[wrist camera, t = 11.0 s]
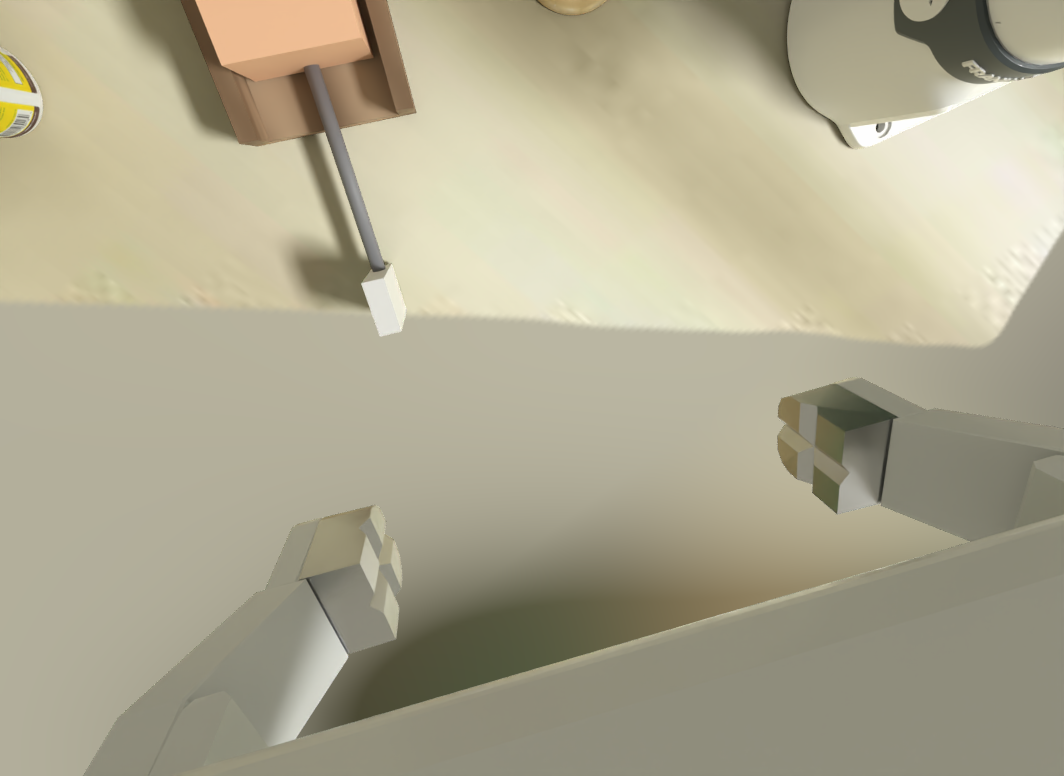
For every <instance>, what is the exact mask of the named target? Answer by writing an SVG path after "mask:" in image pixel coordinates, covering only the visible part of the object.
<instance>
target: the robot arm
mask: <svg viewBox="0 0 1064 776" xmlns="http://www.w3.org/2000/svg"><path fill="white" fill-rule="evenodd" d="M787 49H788V58H789V63H790V68H791V71H792V75H793V78H794V80H795V83H796V85H797V87H798V89H799V91H800V92H801V94H802V96H803V97H804V98H805V100H806V101H807V102H808V103H809V104H810V105H811V106H812V107H813V108H814V109H815V110H816V111H818V112H819V113H821V114H822V115H824V116H826V117H827V118H829V119H831V120H832V121H833V122H834V123H836V124H837V126H838V128H839V130H840V131H841V133H842V135H843V137H844V139H845V140H846V142H847V143H848V145H849V146H850V147H852V148H853V149H862V148H867V147H870V146H873V145H875V144H877V143H879V142H881V141H884V140H886V139H888V138H890V137H892V136H895V135H897V134H899V133H901V132H903V131H906V130H908V129H910V128H912V127H914V126H917V125H919V124H921V123H923V122H925V121H928V120H930V119H932V118H934V117H936V116H939V115H941V114H943V113H946V112H948V111H950V110H952V109H954V108H956V107H958V106H961V105H963V104H965V103H967V102H969V101H972V100H974V99H976V98H978V97H980V96H983V95H985V94H987V93H989V92H991V91H994V90H996V89H998V88H1000V87H1002V86H1004V85H1007V84H1009V83H1010V82H1012V81H1017V80H1023V79H1026V78H1031V77H1035V76H1038V75H1041V74H1044V73H1048V72H1052V71H1055V70H1058V69H1061V68H1063V67H1064V0H792V1H791V6H790V11H789V17H788V27H787ZM877 124H878V129H877V131H876V125H877ZM778 418H779V419H780V420H781V421H782V422H783V423H784V424H785V425H784V426H783V428H782V430H781V431H780V433H779V434H778V436H777V440H778V441H777V443H778V452H779V455H780V458H781V461H782V463H783V464H784V466H785V468H786V469H787V470H788V471H789V473H790V474H792V475H793V476H794V477H795V478H796V479H798V480H801V481H804V482H807V483H810V484H812V493H813V494H814V495H815V496H816V497H818V498H819V499H820V500H821V501H823V502H824V503H825V504H826V505H827V506H828V507H829V508H830V509H832V510H833V511H834V512H835V513H836V514H841V513H844V512H849V511H852V510H856V509H861V508H864V507H868V506H872V505H876V504H880V503H881V506H883V507H885V508H888V509H891V510H893V511H895V512H898V513H900V514H903V515H906V516H908V517H910V518H913V519H915V520H918V521H921V522H923V523H925V524H928V525H930V526H933V527H935V528H938V529H940V530H943V531H945V532H948V533H950V534H953V535H955V536H958V537H960V538H963V539H965V540H968V541H970V542H968V543H965V544H961V545H958V546H955V547H951V548H948V549H945V550H941V551H938V552H934V553H931V554H927V555H924V556H921V557H917V558H914V559H910V560H907V561H903V562H900V563H897V564H893V565H890V566H886V567H883V568H879V569H876V570H873V571H869V572H866V573H862V574H859V575H855V576H852V577H848V578H845V579H842V580H838V581H834V582H831V583H828V584H824V585H821V586H817V587H814V588H810V589H807V590H803V591H800V592H797V593H793V594H790V595H786V596H783V597H779V598H776V599H772V600H769V601H766V602H762V603H759V604H755V605H752V606H749V607H745V608H742V609H738V610H735V611H732V612H728V613H725V614H721V615H718V616H714V617H711V618H708V619H704V620H701V621H697V622H694V623H691V624H687V625H684V626H680V627H677V628H674V629H670V630H667V631H663V632H660V633H657V634H653V635H650V636H646V637H643V638H640V639H636V640H633V641H629V642H626V643H623V644H619V645H616V646H612V647H609V648H605V649H602V650H599V651H595V652H592V653H588V654H585V655H582V656H579V657H575V658H571V659H568V660H565V661H561V662H558V663H555V664H551V665H547V666H544V667H541V668H538V669H534V670H530V671H527V672H524V673H520V674H517V675H513V676H510V677H507V678H503V679H500V680H496V681H493V682H490V683H486V684H483V685H479V686H476V687H472V688H469V689H466V690H462V691H459V692H455V693H452V694H448V695H445V696H442V697H438V698H435V699H431V700H428V701H425V702H421V703H418V704H414V705H411V706H407V707H404V708H401V709H398V710H394V711H390V712H387V713H384V714H380V715H377V716H373V717H370V718H366V719H363V720H360V721H356V722H353V723H349V724H346V725H343V726H339V727H336V728H332V729H329V730H325V731H322V732H319V733H315V734H312V735H308V736H305V737H302V738H298V739H296V737H297V736H298V734H299V733H300V731H301V729H302V728H303V726H304V725H305V723H306V722H307V720H308V719H309V717H310V716H311V714H312V713H313V711H314V709H315V708H316V706H317V705H318V703H319V702H320V700H321V699H322V697H323V696H324V694H325V692H326V691H327V689H328V687H329V686H330V685H331V683H332V682H333V680H334V679H335V677H336V675H337V674H338V672H339V671H340V669H341V668H342V666H343V665H344V663H345V661H346V660H347V658H348V655H347V654H350V653H354V652H356V651H360V650H363V649H366V648H369V647H373V646H376V645H379V644H382V643H385V642H389V641H392V640H395V639H396V635H397V625H398V615H399V606H398V604H397V601H396V599H395V596H396V595H397V593H398V592H399V591H400V590H401V586H402V567H401V560H400V556H399V552H398V549H397V546H396V544H395V541H394V539H392V538H391V537H389V536H387V535H385V534H384V532H385V526H386V520H385V518H384V516H383V514H382V512H381V509H380V508H379V507H378V506H376V505H372V506H368V507H364V508H360V509H355V510H351V511H347V512H343V513H339V514H335V515H331V516H327V517H324V518H318V519H314V520H311V521H307V522H303V523H300V524H297V525H295V526H294V527H292V529H291V531H290V533H289V536H288V538H287V540H286V543H285V545H284V547H283V550H282V552H281V554H280V556H279V559H278V561H277V563H276V566H275V568H274V570H273V572H272V575H271V577H270V579H269V582H268V584H267V586H266V589H265V590H263V591H260V592H256V593H255V594H254V595H253V596H252V597H251V598H249V599H248V600H247V601H246V602H245V603H244V604H243V605H242V606H241V607H240V608H238V610H236V611H235V612H234V613H233V614H232V615H231V616H230V617H229V618H227V619H226V620H225V621H224V622H223V623H222V624H221V625H220V626H219V627H218V628H217V629H215V630H214V631H213V632H212V633H211V634H210V635H209V636H208V637H207V638H206V639H204V640H203V641H202V642H201V643H200V644H199V645H198V646H197V647H195V648H194V649H193V650H192V651H191V652H190V653H189V654H188V655H187V656H186V657H185V658H183V659H182V660H181V661H180V662H179V663H178V664H177V665H176V666H175V667H173V668H172V669H171V670H170V671H169V672H168V673H167V674H166V675H165V676H164V677H163V678H161V679H160V680H159V681H158V682H157V683H156V684H155V685H154V686H152V687H151V688H150V689H149V690H148V691H147V692H146V693H145V694H144V695H143V696H141V697H140V698H139V699H138V700H137V701H136V702H135V703H134V704H133V705H132V706H130V707H129V708H128V709H127V710H126V711H125V712H124V713H123V714H122V715H121V716H119V717H118V718H117V720H116V722H115V723H114V725H113V727H112V728H111V730H110V732H109V733H108V735H107V737H106V738H105V740H104V742H103V743H102V745H101V747H100V748H99V750H98V752H97V753H96V755H95V757H94V758H93V760H92V762H91V763H90V765H89V767H88V768H87V770H86V772H85V773H84V775H83V776H1064V428H1059V427H1052V426H1047V425H1040V424H1033V423H1027V422H1021V421H1014V420H1008V419H1001V418H995V417H988V416H982V415H976V414H969V413H962V412H956V411H950V410H943V409H936V408H934V409H930V410H926V409H924V408H922V407H919V406H918V405H916V404H913V403H911V402H909V401H907V400H905V399H903V398H901V397H899V396H897V395H895V394H893V393H891V392H889V391H887V390H885V389H883V388H881V387H879V386H877V385H875V384H873V383H871V382H869V381H867V380H865V379H863V378H855V377H852V378H848V379H845V380H842V381H838V382H835V383H832V384H829V385H826V386H823V387H819V388H816V389H812V390H809V391H805V392H802V393H798V394H795V395H791V396H788V397H784V398H782V399H781V401H780V403H779V406H778Z"/></svg>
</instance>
